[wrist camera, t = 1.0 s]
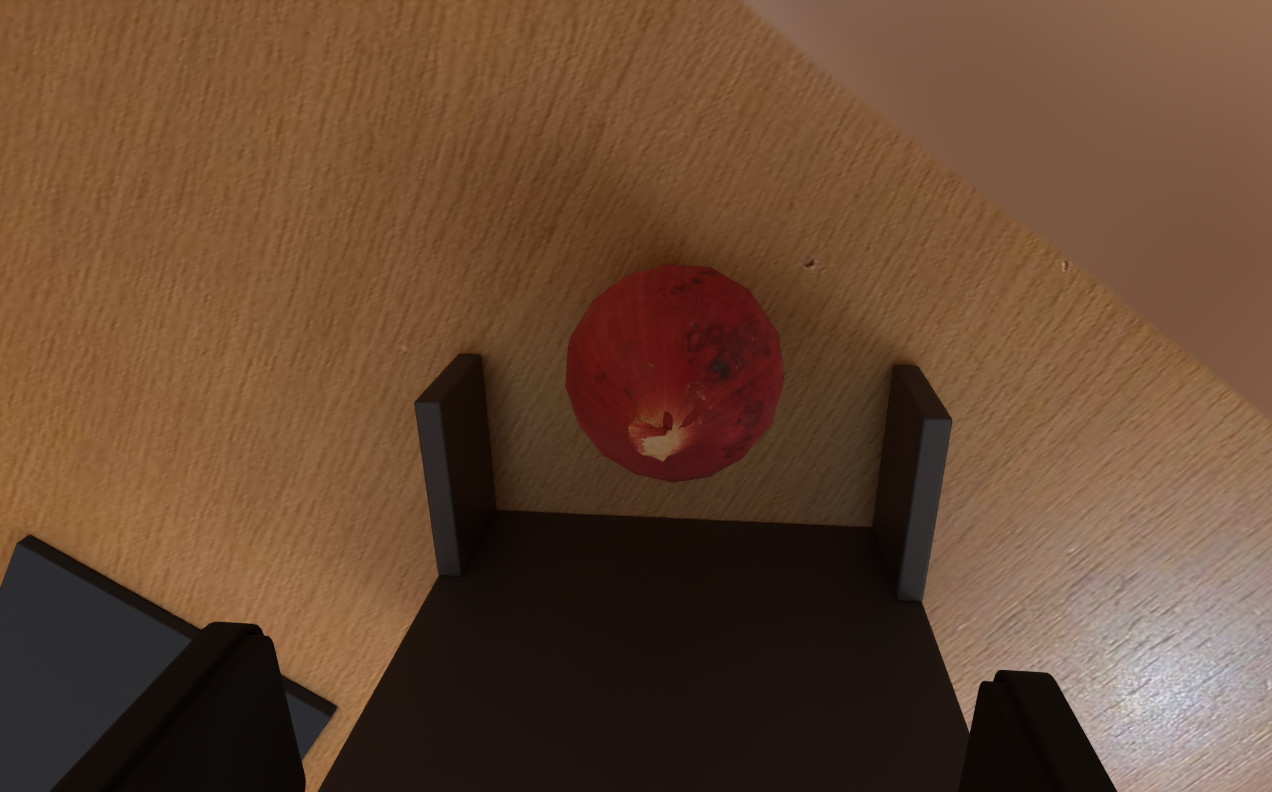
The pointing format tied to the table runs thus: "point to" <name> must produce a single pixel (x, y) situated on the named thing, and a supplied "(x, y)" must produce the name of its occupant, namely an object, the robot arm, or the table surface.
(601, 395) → the pomegranate
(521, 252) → the table surface
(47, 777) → the mat
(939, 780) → the grey legged box
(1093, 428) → the table surface
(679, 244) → the table surface
